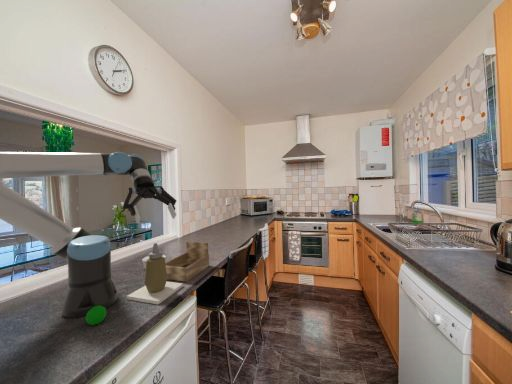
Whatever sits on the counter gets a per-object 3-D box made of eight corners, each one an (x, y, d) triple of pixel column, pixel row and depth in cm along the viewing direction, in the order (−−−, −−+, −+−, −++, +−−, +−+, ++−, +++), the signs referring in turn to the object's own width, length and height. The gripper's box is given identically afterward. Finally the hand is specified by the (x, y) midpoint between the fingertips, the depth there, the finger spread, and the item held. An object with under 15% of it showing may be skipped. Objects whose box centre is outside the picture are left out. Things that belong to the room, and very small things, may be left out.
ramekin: (170, 263, 112) (170, 254, 112) (158, 272, 101) (158, 261, 101) (151, 263, 113) (150, 254, 113) (137, 271, 102) (137, 261, 102)
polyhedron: (110, 317, 64) (110, 302, 64) (98, 328, 60) (98, 311, 59) (94, 318, 64) (93, 303, 64) (81, 328, 59) (80, 312, 59)
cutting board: (126, 299, 75) (126, 296, 75) (155, 282, 89) (155, 279, 89) (158, 304, 71) (158, 301, 71) (183, 286, 85) (182, 283, 85)
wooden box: (159, 278, 93) (159, 252, 92) (186, 263, 112) (186, 241, 112) (186, 282, 89) (185, 254, 89) (209, 265, 108) (208, 242, 108)
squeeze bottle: (139, 291, 78) (138, 244, 78) (158, 283, 85) (157, 240, 85) (153, 296, 75) (152, 247, 74) (172, 287, 82) (171, 242, 82)
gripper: (168, 187, 101) (184, 220, 91) (107, 188, 83) (119, 230, 73) (173, 175, 97) (190, 209, 88) (110, 174, 79) (122, 216, 69)
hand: (157, 218), depth 80 cm, fingers open, 13 cm apart
